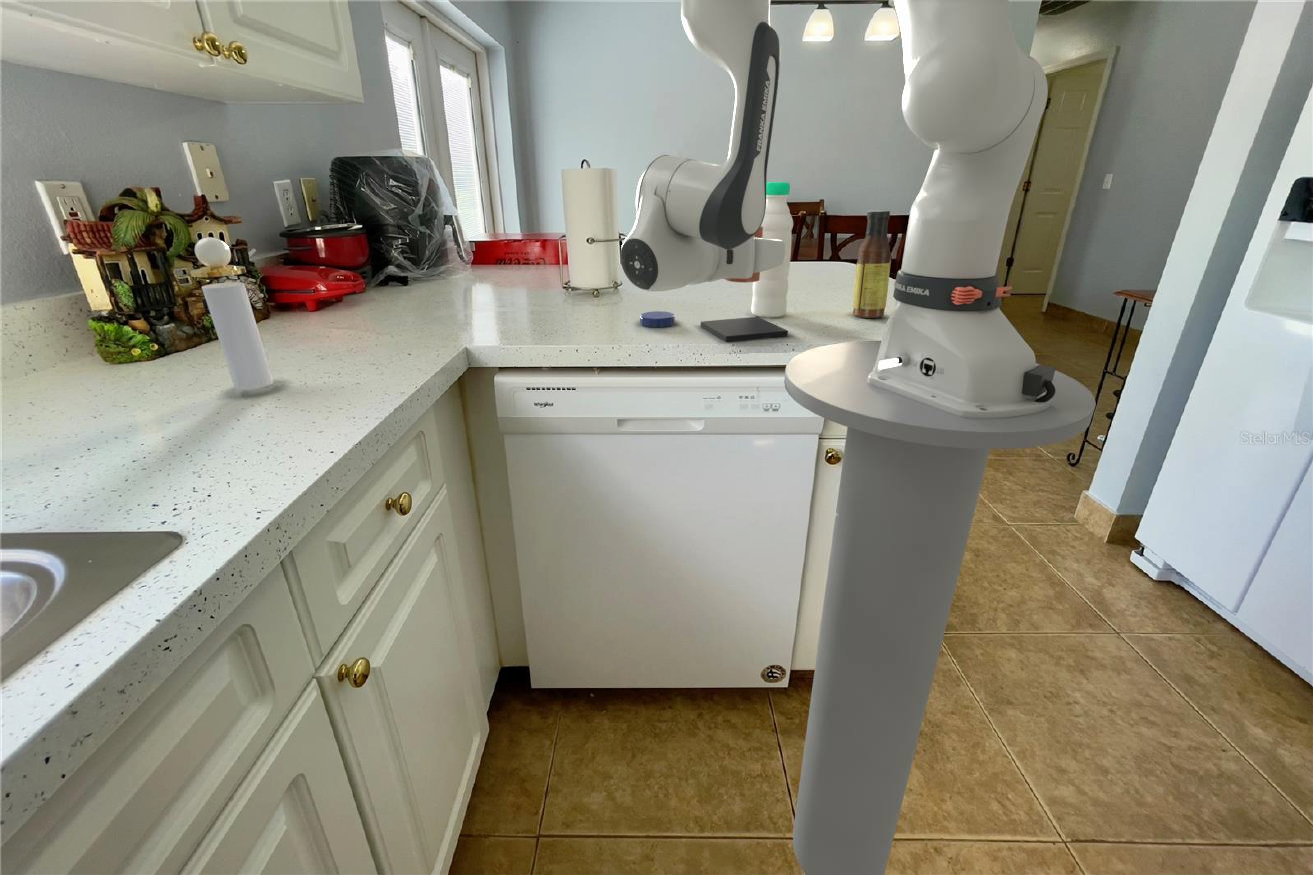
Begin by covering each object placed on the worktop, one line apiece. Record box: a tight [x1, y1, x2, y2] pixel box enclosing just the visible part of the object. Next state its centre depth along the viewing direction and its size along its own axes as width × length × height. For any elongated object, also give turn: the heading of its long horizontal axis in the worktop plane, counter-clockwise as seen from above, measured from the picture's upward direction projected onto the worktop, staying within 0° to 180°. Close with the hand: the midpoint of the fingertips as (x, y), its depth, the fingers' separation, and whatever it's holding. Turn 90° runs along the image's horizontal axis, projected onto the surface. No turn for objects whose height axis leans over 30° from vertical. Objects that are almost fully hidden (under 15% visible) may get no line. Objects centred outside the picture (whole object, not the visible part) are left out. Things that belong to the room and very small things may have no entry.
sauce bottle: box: [852, 209, 892, 319], centre depth 114 cm, size 7×6×20 cm
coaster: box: [700, 316, 789, 343], centre depth 107 cm, size 12×12×1 cm
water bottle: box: [750, 181, 794, 318], centre depth 115 cm, size 7×7×25 cm
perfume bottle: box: [189, 236, 274, 391], centre depth 76 cm, size 6×6×20 cm
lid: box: [639, 310, 676, 329], centre depth 113 cm, size 6×6×2 cm
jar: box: [725, 226, 763, 283], centre depth 101 cm, size 6×6×10 cm
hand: (747, 245), depth 102 cm, fingers closed on jar, 6 cm apart
